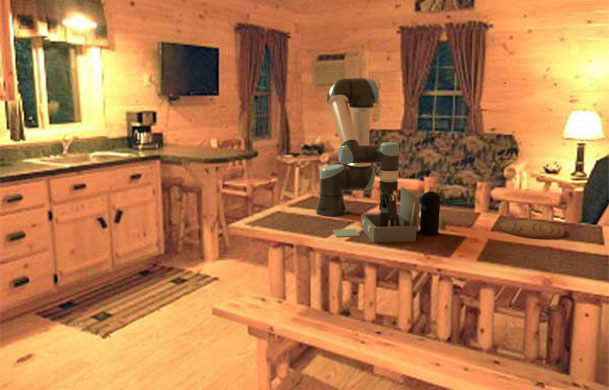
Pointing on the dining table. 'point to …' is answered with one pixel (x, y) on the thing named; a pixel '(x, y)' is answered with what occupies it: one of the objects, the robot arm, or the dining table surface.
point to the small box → (384, 217)
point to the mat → (346, 233)
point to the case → (403, 225)
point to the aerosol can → (430, 213)
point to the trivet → (532, 229)
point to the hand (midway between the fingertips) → (387, 231)
